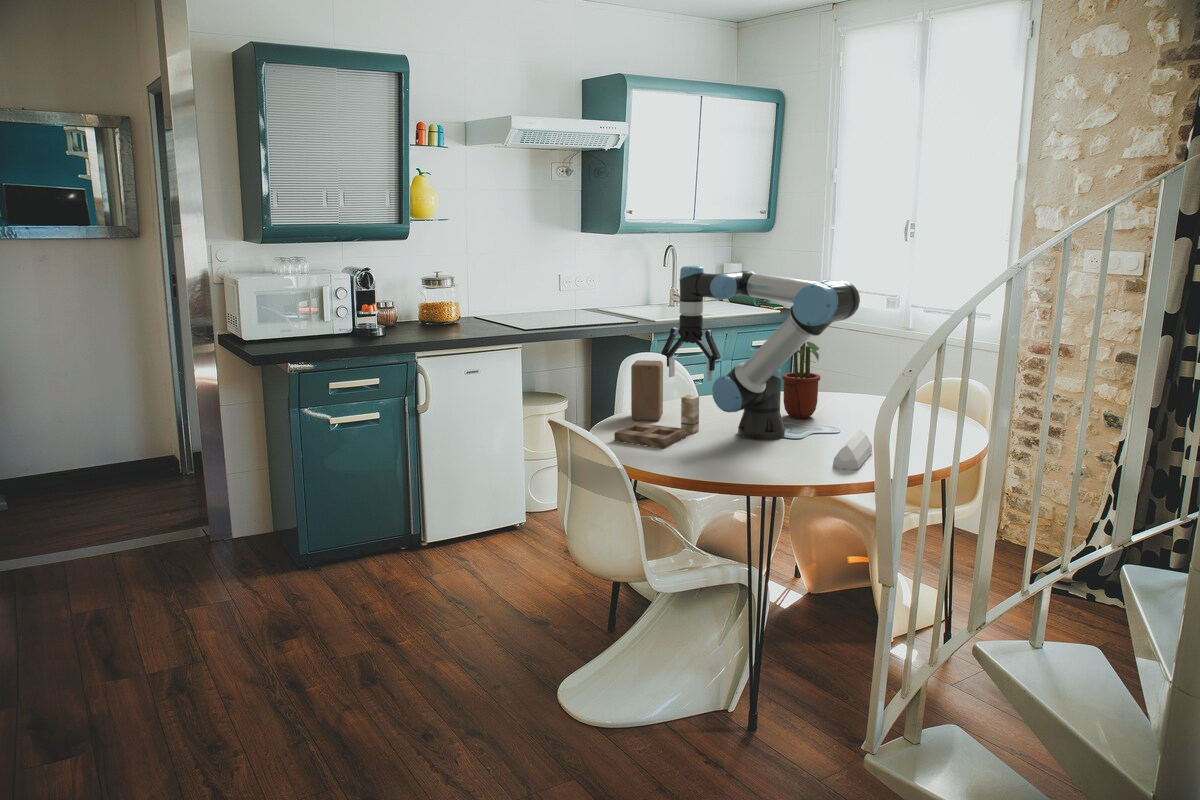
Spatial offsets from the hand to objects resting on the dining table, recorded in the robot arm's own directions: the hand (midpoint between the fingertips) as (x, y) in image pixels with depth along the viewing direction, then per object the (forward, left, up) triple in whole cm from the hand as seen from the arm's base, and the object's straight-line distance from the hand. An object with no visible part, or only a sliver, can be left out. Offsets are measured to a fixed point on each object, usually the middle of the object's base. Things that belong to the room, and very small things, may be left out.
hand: (690, 378), depth 306 cm
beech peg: (0, 0, -18) cm, 18 cm away
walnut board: (+7, +15, -18) cm, 24 cm away
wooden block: (+22, -11, -18) cm, 31 cm away
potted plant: (-23, -40, -18) cm, 50 cm away
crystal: (-57, +7, -19) cm, 60 cm away
